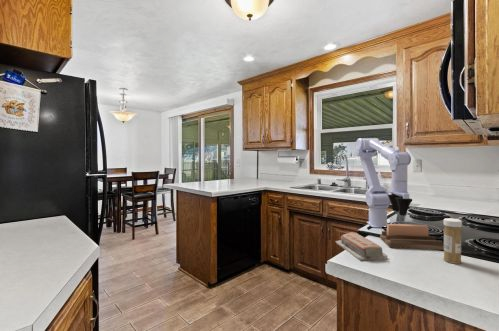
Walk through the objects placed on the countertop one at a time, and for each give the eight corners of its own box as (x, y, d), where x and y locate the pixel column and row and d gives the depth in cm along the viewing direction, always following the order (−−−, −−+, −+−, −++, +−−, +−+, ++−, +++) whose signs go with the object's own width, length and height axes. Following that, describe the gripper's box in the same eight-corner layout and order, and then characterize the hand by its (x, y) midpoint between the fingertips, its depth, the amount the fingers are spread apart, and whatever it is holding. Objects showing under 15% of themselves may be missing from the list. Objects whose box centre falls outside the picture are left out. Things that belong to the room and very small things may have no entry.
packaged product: (388, 245, 84) (360, 248, 82) (388, 260, 84) (360, 262, 83) (358, 230, 102) (335, 231, 100) (358, 242, 102) (335, 243, 101)
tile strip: (386, 236, 102) (386, 223, 102) (425, 237, 100) (425, 224, 99) (388, 238, 100) (388, 225, 100) (428, 239, 97) (428, 226, 97)
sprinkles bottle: (464, 265, 78) (464, 221, 78) (446, 263, 80) (446, 220, 79) (457, 259, 83) (458, 218, 82) (440, 257, 84) (441, 217, 84)
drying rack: (380, 238, 104) (380, 230, 104) (428, 239, 101) (428, 232, 101) (389, 247, 94) (389, 239, 94) (444, 250, 90) (444, 241, 90)
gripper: (383, 179, 115) (383, 209, 115) (395, 182, 100) (395, 216, 101) (400, 179, 113) (400, 209, 114) (415, 182, 99) (415, 217, 100)
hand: (399, 213), depth 107 cm, fingers open, 7 cm apart
